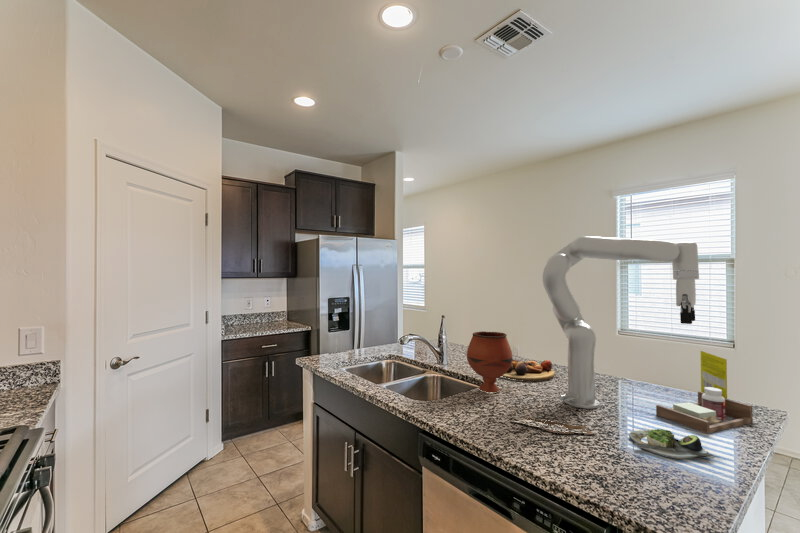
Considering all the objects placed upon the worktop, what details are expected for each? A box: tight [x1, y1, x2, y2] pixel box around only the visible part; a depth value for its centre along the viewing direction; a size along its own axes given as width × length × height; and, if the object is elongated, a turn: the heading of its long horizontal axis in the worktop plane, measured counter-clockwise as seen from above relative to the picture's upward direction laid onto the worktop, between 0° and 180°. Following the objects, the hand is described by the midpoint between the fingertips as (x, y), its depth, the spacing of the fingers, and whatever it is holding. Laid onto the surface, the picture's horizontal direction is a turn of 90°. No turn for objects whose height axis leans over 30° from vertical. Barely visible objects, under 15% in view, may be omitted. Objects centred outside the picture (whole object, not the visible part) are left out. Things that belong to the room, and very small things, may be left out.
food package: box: [700, 350, 728, 399], centre depth 139 cm, size 15×1×20 cm, turn 168°
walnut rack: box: [655, 391, 754, 434], centre depth 124 cm, size 24×16×7 cm, turn 111°
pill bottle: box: [702, 387, 726, 421], centre depth 126 cm, size 6×6×11 cm
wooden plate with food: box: [502, 359, 556, 382], centre depth 186 cm, size 32×32×8 cm
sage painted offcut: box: [672, 401, 716, 418], centre depth 122 cm, size 7×9×2 cm
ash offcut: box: [671, 407, 716, 422], centre depth 122 cm, size 8×10×2 cm
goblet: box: [466, 331, 514, 392], centre depth 157 cm, size 19×19×25 cm
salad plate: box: [628, 428, 715, 460], centre depth 107 cm, size 19×18×5 cm
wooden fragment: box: [525, 417, 594, 435], centre depth 120 cm, size 26×11×1 cm, turn 64°
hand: (688, 322), depth 133 cm, fingers open, 9 cm apart
